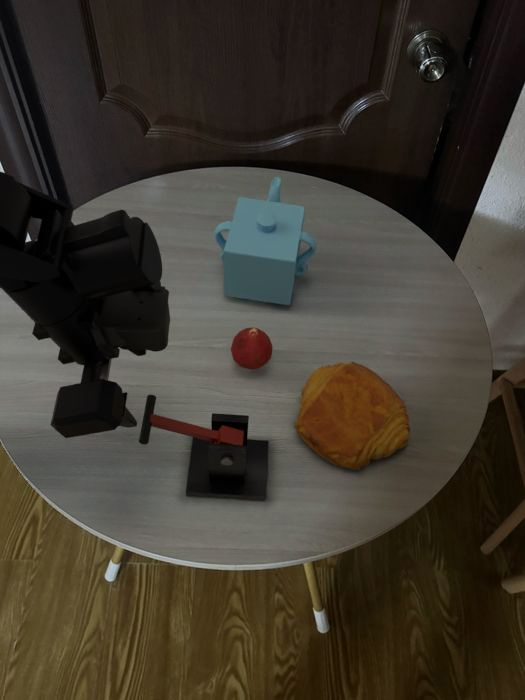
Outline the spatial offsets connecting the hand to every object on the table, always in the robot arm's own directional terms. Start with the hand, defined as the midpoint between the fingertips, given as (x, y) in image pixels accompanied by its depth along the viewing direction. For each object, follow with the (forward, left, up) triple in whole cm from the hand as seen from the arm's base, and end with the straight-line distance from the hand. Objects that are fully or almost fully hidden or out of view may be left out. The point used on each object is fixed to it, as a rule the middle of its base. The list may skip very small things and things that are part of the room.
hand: (137, 388), depth 67 cm
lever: (+5, -2, -8) cm, 9 cm away
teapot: (+22, +31, -16) cm, 41 cm away
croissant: (+27, 0, -16) cm, 31 cm away
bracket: (+10, -4, -16) cm, 19 cm away
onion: (+16, +12, -16) cm, 26 cm away
